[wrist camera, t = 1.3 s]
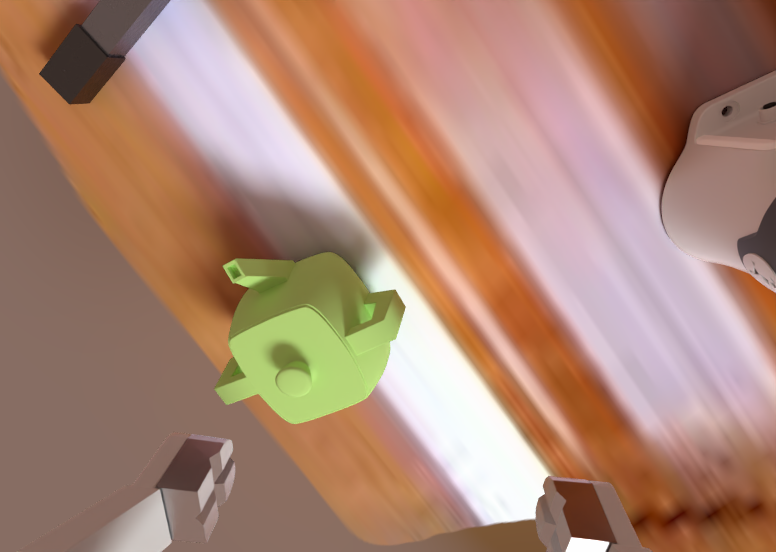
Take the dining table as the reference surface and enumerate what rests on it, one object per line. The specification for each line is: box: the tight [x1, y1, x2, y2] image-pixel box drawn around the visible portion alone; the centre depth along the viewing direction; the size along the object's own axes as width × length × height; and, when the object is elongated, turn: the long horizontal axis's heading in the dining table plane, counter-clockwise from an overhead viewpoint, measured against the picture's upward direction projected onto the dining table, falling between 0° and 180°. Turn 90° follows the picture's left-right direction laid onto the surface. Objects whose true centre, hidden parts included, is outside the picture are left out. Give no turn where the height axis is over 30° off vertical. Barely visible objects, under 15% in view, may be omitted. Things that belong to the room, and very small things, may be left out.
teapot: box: [214, 252, 406, 424], centre depth 41 cm, size 18×20×13 cm
